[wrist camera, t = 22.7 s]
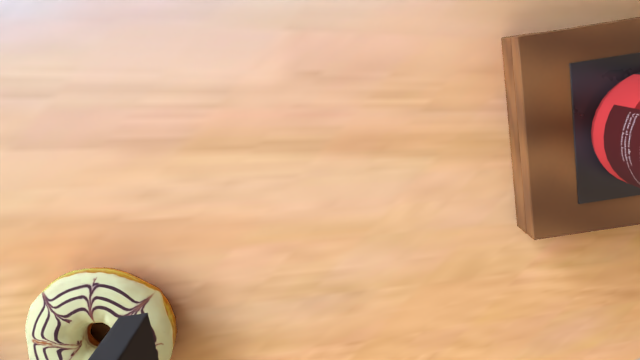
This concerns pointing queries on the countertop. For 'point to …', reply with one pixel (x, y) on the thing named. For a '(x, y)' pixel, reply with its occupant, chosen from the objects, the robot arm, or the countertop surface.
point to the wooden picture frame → (567, 126)
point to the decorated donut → (94, 313)
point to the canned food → (619, 130)
